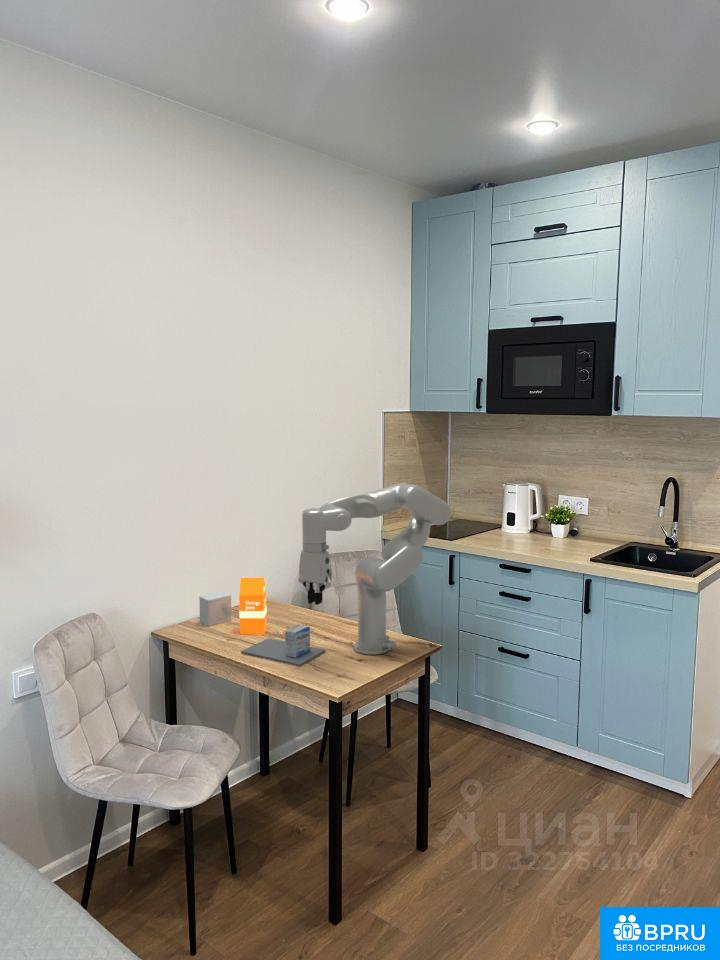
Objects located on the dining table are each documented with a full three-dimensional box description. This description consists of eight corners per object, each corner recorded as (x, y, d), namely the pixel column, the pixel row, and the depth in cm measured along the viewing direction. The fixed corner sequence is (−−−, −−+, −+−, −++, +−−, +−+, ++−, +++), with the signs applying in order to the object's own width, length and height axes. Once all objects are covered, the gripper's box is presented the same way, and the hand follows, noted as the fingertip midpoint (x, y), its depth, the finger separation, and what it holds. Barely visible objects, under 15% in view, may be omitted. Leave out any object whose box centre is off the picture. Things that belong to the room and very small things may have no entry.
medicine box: (295, 658, 234) (295, 632, 233) (285, 655, 236) (284, 630, 235) (310, 651, 240) (310, 626, 239) (300, 648, 243) (299, 623, 242)
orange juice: (243, 627, 268) (242, 574, 266) (267, 627, 268) (266, 574, 266) (239, 634, 260) (238, 580, 258) (264, 634, 260) (263, 580, 258)
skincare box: (208, 627, 268) (207, 599, 267) (199, 623, 273) (198, 596, 272) (232, 621, 276) (231, 594, 274) (222, 617, 280) (222, 591, 279)
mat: (325, 652, 242) (325, 649, 242) (300, 666, 229) (300, 664, 229) (268, 640, 254) (268, 637, 254) (241, 653, 241) (241, 651, 241)
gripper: (341, 547, 230) (342, 603, 232) (300, 542, 238) (301, 597, 240) (329, 552, 223) (329, 609, 225) (287, 546, 231) (288, 602, 233)
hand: (315, 602), depth 233 cm, fingers closed
